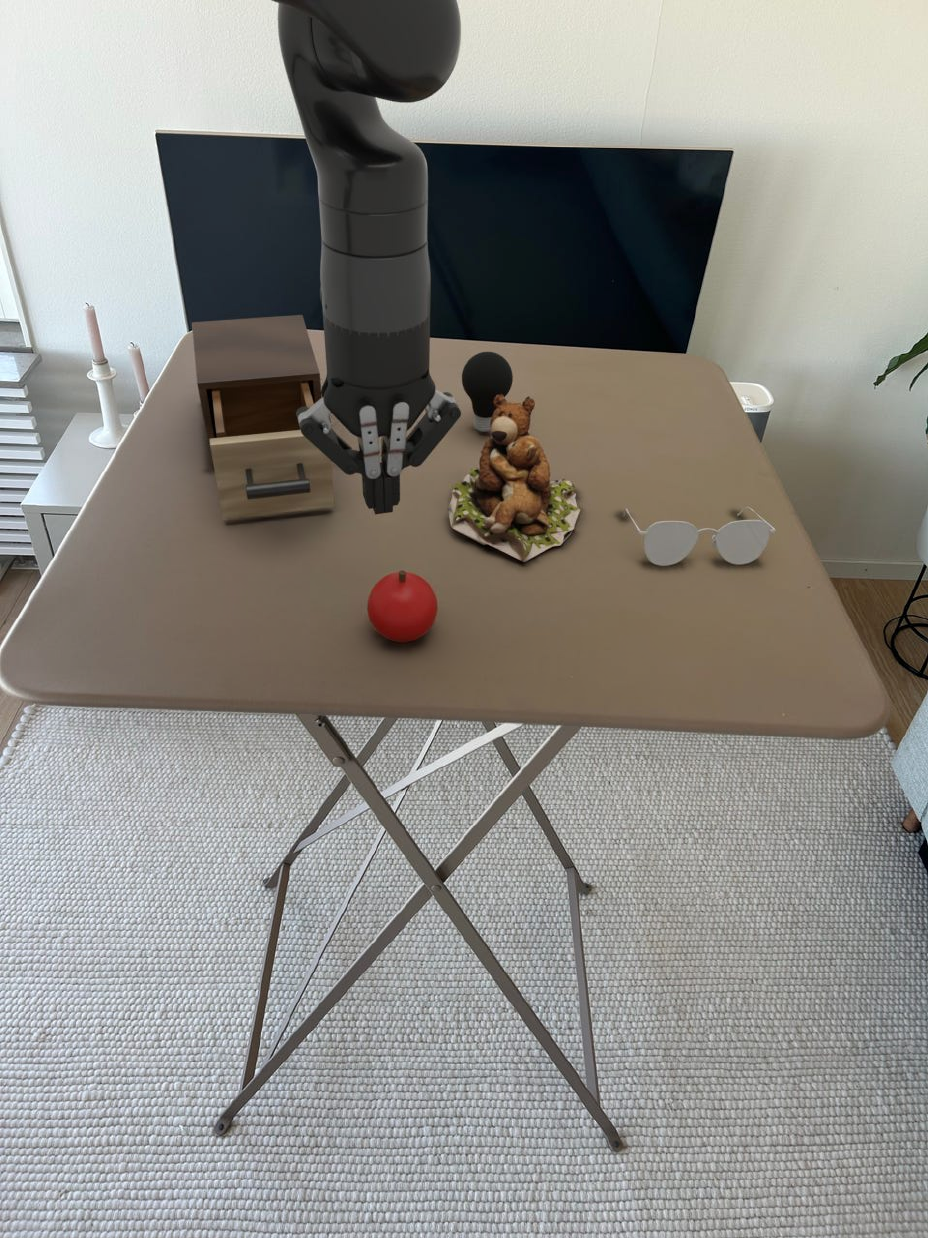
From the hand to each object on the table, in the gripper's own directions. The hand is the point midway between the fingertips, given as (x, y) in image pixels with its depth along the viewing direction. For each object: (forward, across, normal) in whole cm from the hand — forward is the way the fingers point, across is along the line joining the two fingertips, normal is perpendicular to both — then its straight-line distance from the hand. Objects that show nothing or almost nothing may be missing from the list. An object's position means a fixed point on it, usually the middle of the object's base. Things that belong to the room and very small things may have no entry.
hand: (382, 507), depth 73 cm
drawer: (+11, -7, +21) cm, 25 cm away
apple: (+12, +1, -2) cm, 13 cm away
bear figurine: (+12, +16, +12) cm, 24 cm away
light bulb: (+12, +18, +29) cm, 37 cm away
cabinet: (+12, -7, +35) cm, 38 cm away
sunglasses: (+12, +34, +4) cm, 36 cm away
